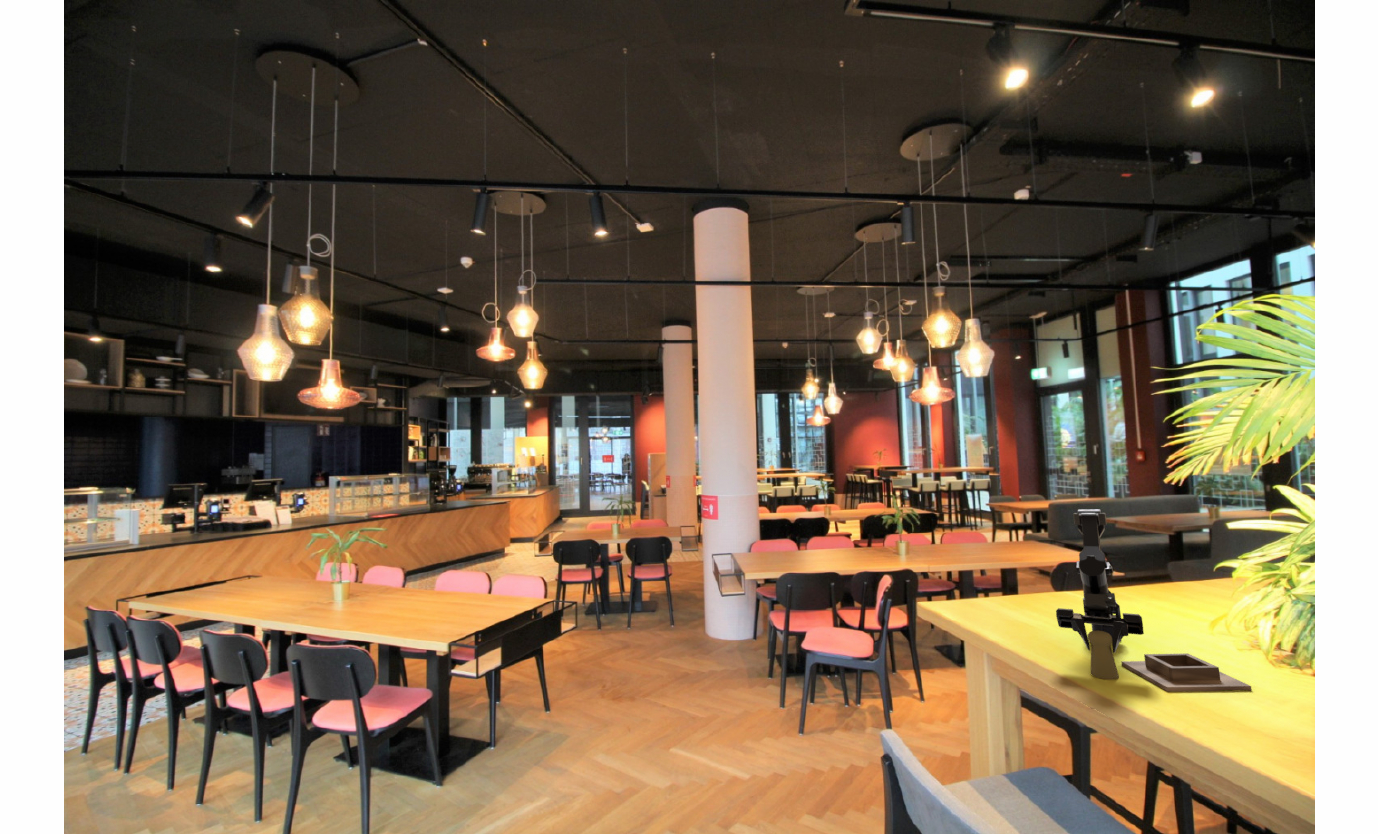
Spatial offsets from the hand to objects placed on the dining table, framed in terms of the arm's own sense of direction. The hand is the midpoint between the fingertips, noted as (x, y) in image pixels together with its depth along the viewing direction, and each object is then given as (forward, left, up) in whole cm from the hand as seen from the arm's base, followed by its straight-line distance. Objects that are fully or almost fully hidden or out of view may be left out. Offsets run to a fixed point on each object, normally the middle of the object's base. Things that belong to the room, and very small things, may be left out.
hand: (1101, 650), depth 149 cm
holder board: (+1, +18, -7) cm, 19 cm away
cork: (-1, +1, -7) cm, 7 cm away
